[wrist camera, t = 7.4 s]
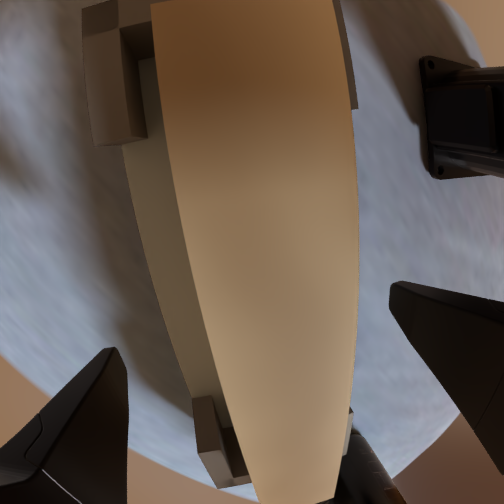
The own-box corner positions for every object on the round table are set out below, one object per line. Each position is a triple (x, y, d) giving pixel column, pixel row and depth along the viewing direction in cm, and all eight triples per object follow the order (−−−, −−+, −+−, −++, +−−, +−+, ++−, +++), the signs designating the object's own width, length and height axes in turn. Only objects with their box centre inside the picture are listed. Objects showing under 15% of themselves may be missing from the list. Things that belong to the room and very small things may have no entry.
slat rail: (286, 19, 10) (332, -27, 6) (317, 405, 18) (345, 458, 14) (113, 40, 9) (82, -5, 5) (209, 432, 17) (219, 492, 13)
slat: (252, 69, 10) (331, -4, 4) (290, 401, 16) (333, 497, 10) (168, 80, 9) (150, 4, 3) (237, 414, 15) (265, 517, 9)
